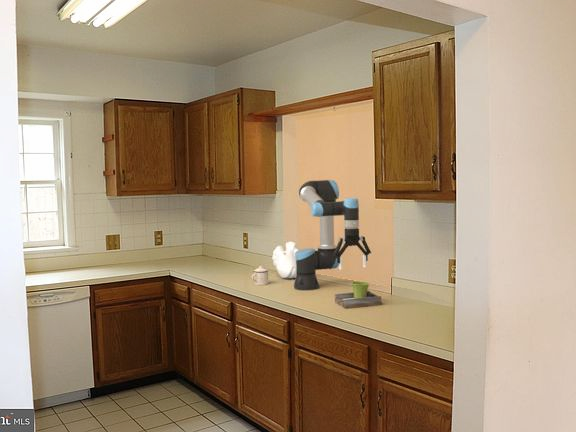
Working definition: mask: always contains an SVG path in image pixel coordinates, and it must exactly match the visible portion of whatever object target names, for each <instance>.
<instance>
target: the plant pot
mask: <svg viewBox="0 0 576 432" xmlns="http://www.w3.org/2000/svg"><path fill="white" fill-rule="evenodd" d="M350 283H351V286H352V293H353V292H354V299H356V298H366V296H367V291H368V290H369V285H370V283H369V282H368V281H352V282H350Z"/></svg>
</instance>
